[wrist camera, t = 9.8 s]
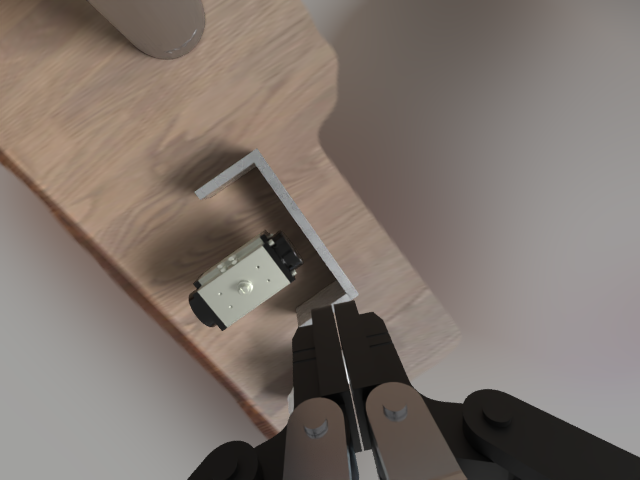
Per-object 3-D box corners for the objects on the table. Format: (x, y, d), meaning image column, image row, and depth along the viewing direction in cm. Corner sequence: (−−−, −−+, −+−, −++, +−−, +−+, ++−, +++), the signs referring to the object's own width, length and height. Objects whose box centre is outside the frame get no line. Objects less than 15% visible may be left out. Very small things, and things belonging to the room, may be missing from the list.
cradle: (206, 190, 41) (194, 192, 35) (260, 153, 41) (256, 148, 35) (300, 314, 45) (303, 333, 39) (348, 279, 45) (359, 294, 39)
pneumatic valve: (300, 249, 43) (308, 274, 32) (227, 301, 43) (208, 345, 32) (275, 215, 42) (274, 227, 31) (200, 268, 42) (169, 301, 30)
